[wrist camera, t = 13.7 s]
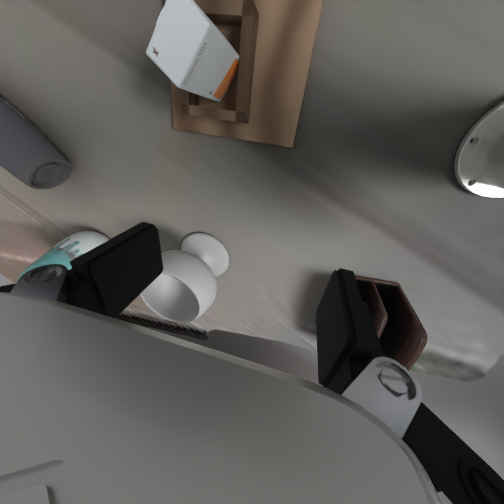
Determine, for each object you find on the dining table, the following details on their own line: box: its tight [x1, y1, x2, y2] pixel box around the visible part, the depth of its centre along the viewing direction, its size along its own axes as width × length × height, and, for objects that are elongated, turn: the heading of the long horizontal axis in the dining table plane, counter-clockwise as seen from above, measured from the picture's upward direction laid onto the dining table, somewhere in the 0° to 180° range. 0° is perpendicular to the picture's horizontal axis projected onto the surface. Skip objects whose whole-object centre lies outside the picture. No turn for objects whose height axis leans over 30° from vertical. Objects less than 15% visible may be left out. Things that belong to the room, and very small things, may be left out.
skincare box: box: [146, 0, 239, 102], centre depth 23 cm, size 6×4×12 cm
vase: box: [17, 231, 110, 281], centre depth 47 cm, size 12×12×18 cm
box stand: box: [165, 0, 324, 148], centre depth 27 cm, size 20×16×4 cm
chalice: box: [140, 233, 229, 323], centre depth 41 cm, size 14×14×15 cm
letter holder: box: [354, 275, 427, 370], centre depth 40 cm, size 10×20×14 cm, turn 177°
